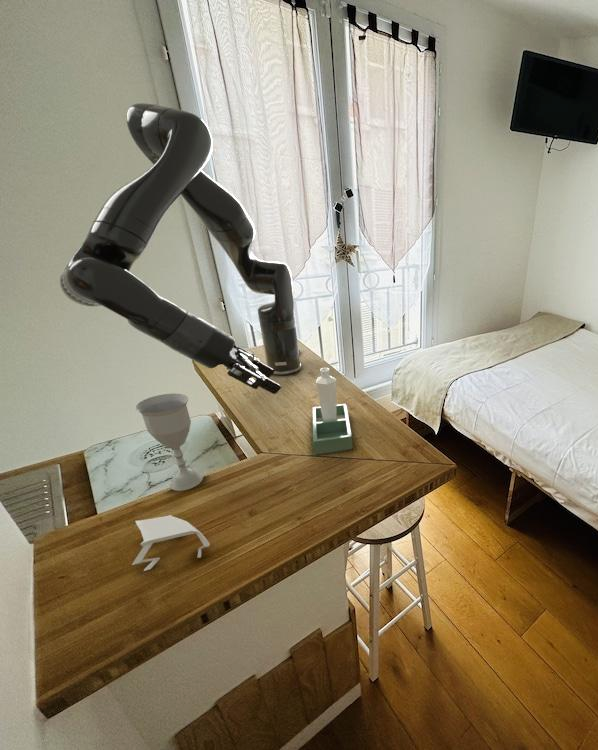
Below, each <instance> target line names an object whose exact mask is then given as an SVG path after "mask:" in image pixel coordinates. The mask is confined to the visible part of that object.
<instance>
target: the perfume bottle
mask: <svg viewBox="0 0 598 750" xmlns="http://www.w3.org/2000/svg"><path fill="white" fill-rule="evenodd" d="M319 372H320V376H318V377H317V378H316V380H315V386H316V387H315V388H316V392H317V397H318V401H319V407H321V412H322V417H323V421H329V420H337V415H336V405H337V378H336V377H334V376H332V375H331V374H330V368H329V367H321V368H320V369H319Z"/></svg>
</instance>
